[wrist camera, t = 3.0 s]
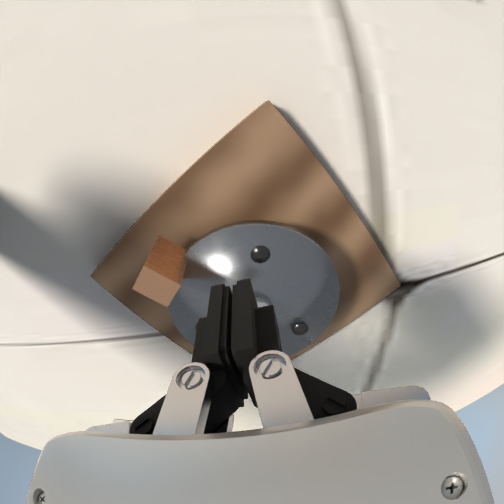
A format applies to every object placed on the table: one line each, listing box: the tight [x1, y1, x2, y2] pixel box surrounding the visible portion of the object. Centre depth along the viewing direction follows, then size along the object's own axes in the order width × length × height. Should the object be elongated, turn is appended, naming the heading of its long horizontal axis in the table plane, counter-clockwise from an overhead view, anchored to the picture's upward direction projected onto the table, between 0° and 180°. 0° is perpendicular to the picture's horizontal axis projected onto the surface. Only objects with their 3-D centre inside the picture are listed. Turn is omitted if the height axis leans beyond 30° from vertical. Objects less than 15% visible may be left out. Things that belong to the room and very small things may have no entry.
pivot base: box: [91, 101, 401, 360], centre depth 27 cm, size 25×25×9 cm
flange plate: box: [132, 220, 340, 356], centre depth 25 cm, size 18×16×5 cm
